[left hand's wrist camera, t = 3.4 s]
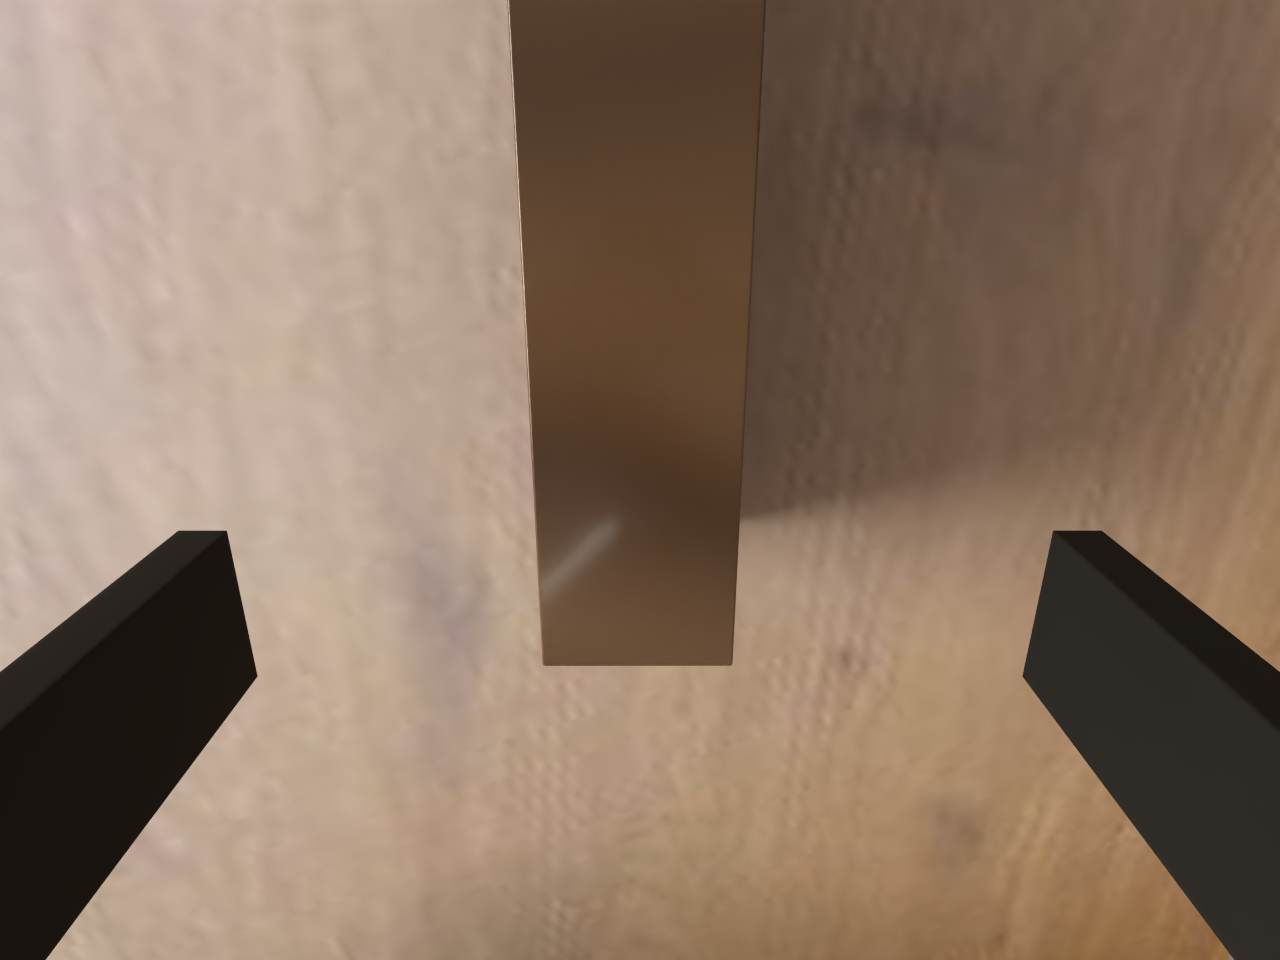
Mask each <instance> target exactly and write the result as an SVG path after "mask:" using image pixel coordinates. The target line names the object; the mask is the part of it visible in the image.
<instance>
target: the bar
mask: <svg viewBox="0 0 1280 960" xmlns="http://www.w3.org/2000/svg"><path fill="white" fill-rule="evenodd" d="M507 2H508V21H509V40H510V58H511V77H512V96H513V115H514V133H515V152H516V171H517V190H518V209H519V227H520V246H521V265H522V284H523V302H524V321H525V340H526V359H527V378H528V396H529V415H530V434H531V453H532V471H533V490H534V509H535V528H536V547H537V565H538V584H539V603H540V622H541V640H542V659H543V665H545V666H730V665H732V662H733V642H734V622H735V602H736V582H737V563H738V543H739V523H740V503H741V484H742V464H743V444H744V424H745V404H746V385H747V365H748V345H749V325H750V306H751V286H752V266H753V246H754V226H755V207H756V187H757V167H758V147H759V128H760V108H761V88H762V68H763V48H764V29H765V9H766V0H507Z"/></svg>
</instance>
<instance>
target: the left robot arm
mask: <svg viewBox="0 0 1280 960" xmlns="http://www.w3.org/2000/svg"><path fill="white" fill-rule="evenodd" d="M256 678H257V672H256V667H255V662H254V658H253V653H252V648H251V643H250V639H249V634H248V629H247V625H246V620H245V615H244V610H243V606H242V601H241V596H240V591H239V587H238V582H237V577H236V572H235V568H234V563H233V558H232V553H231V549H230V544H229V539H228V534H227V531H178V532H176V533H175V534H174V535H173V536H171V537H170V538H169V539H167V540H166V541H165V542H164V543H162V544H161V545H160V546H159V547H157V548H156V549H155V550H154V551H152V552H151V553H150V554H149V555H147V556H146V557H145V558H143V559H142V560H141V561H140V562H138V563H137V564H136V565H135V566H133V567H132V568H131V569H130V570H128V571H127V572H126V573H125V574H123V575H122V576H121V577H120V578H118V579H117V580H116V581H114V582H113V583H112V584H111V585H109V586H108V587H107V588H106V589H104V590H103V591H102V592H101V593H99V594H98V595H97V596H96V597H94V598H93V599H92V600H91V601H89V602H88V603H87V604H85V605H84V606H83V607H82V608H80V609H79V610H78V611H77V612H75V613H74V614H73V615H72V616H70V617H69V618H68V619H67V620H65V621H64V622H63V623H62V624H60V625H59V626H58V627H56V628H55V629H54V630H53V631H51V632H50V633H49V634H48V635H46V636H45V637H44V638H43V639H41V640H40V641H39V642H38V643H36V644H35V645H34V646H32V647H31V648H30V649H29V650H27V651H26V652H25V653H24V654H22V655H21V656H20V657H19V658H17V659H16V660H15V661H14V662H12V663H11V664H10V665H9V666H7V667H6V668H5V669H3V670H2V671H1V672H0V960H46V958H47V957H48V956H49V954H50V953H51V952H52V950H53V949H54V948H55V946H56V945H57V944H58V942H59V941H60V940H61V938H62V937H63V936H64V934H65V933H66V932H67V930H68V929H69V928H70V926H71V925H72V924H73V922H74V921H75V920H76V918H77V917H78V916H79V914H80V913H81V912H82V910H83V909H84V908H85V906H86V905H87V904H88V902H89V901H90V900H91V898H92V897H93V896H94V894H95V893H96V892H97V890H98V889H99V888H100V886H101V885H102V884H103V882H104V881H105V880H106V878H107V877H108V876H109V874H110V873H111V872H112V870H113V869H114V868H115V866H116V865H117V864H118V862H119V861H120V860H121V858H122V857H123V856H124V854H125V853H126V852H127V850H128V849H129V848H130V846H131V845H132V843H133V842H134V841H135V839H136V838H137V837H138V835H139V834H140V833H141V831H142V830H143V829H144V827H145V826H146V825H147V823H148V822H149V821H150V819H151V818H152V817H153V815H154V814H155V813H156V811H157V810H158V809H159V807H160V806H161V805H162V803H163V802H164V801H165V799H166V798H167V797H168V795H169V794H170V793H171V791H172V790H173V789H174V787H175V786H176V785H177V783H178V782H179V781H180V779H181V778H182V777H183V775H184V774H185V773H186V771H187V770H188V769H189V767H190V766H191V765H192V763H193V762H194V761H195V759H196V758H197V757H198V755H199V754H200V753H201V751H202V750H203V749H204V747H205V746H206V745H207V743H208V742H209V741H210V739H211V738H212V737H213V735H214V734H215V733H216V731H217V730H218V728H219V727H220V726H221V724H222V723H223V722H224V720H225V719H226V718H227V716H228V715H229V714H230V712H231V711H232V710H233V708H234V707H235V706H236V704H237V703H238V702H239V700H240V699H241V698H242V696H243V695H244V694H245V692H246V691H247V690H248V688H249V687H250V686H251V684H252V683H253V682H254V680H255V679H256ZM1023 678H1024V679H1025V680H1026V682H1027V683H1028V684H1029V686H1030V687H1031V688H1032V690H1033V691H1034V692H1035V694H1036V695H1037V696H1038V698H1039V699H1040V700H1041V702H1042V703H1043V704H1044V706H1045V707H1046V708H1047V710H1048V711H1049V712H1050V714H1051V715H1052V716H1053V718H1054V719H1055V720H1056V722H1057V723H1058V724H1059V726H1060V727H1061V728H1062V730H1063V731H1064V733H1065V734H1066V735H1067V737H1068V738H1069V739H1070V741H1071V742H1072V743H1073V745H1074V746H1075V747H1076V749H1077V750H1078V751H1079V753H1080V754H1081V755H1082V757H1083V758H1084V759H1085V761H1086V762H1087V763H1088V765H1089V766H1090V767H1091V769H1092V770H1093V771H1094V773H1095V774H1096V775H1097V777H1098V778H1099V779H1100V781H1101V782H1102V783H1103V785H1104V786H1105V787H1106V789H1107V790H1108V791H1109V793H1110V794H1111V795H1112V797H1113V798H1114V799H1115V801H1116V802H1117V803H1118V805H1119V806H1120V807H1121V809H1122V810H1123V811H1124V813H1125V814H1126V815H1127V817H1128V818H1129V819H1130V821H1131V822H1132V823H1133V825H1134V826H1135V827H1136V829H1137V830H1138V831H1139V833H1140V834H1141V835H1142V837H1143V838H1144V839H1145V841H1146V842H1147V843H1148V845H1149V846H1150V848H1151V849H1152V850H1153V852H1154V853H1155V854H1156V856H1157V857H1158V858H1159V860H1160V861H1161V862H1162V864H1163V865H1164V866H1165V868H1166V869H1167V870H1168V872H1169V873H1170V874H1171V876H1172V877H1173V878H1174V880H1175V881H1176V882H1177V884H1178V885H1179V886H1180V888H1181V889H1182V890H1183V892H1184V893H1185V894H1186V896H1187V897H1188V898H1189V900H1190V901H1191V902H1192V904H1193V905H1194V906H1195V908H1196V909H1197V910H1198V912H1199V913H1200V914H1201V916H1202V917H1203V918H1204V920H1205V921H1206V922H1207V924H1208V925H1209V926H1210V928H1211V929H1212V930H1213V932H1214V933H1215V934H1216V936H1217V937H1218V938H1219V940H1220V941H1221V942H1222V944H1223V945H1224V946H1225V948H1226V949H1227V950H1228V952H1229V953H1230V954H1231V956H1232V957H1233V958H1234V960H1280V672H1279V671H1278V670H1277V669H1275V668H1274V667H1273V666H1271V665H1270V664H1269V663H1268V662H1266V661H1265V660H1264V659H1263V658H1261V657H1260V656H1259V655H1258V654H1256V653H1255V652H1254V651H1253V650H1251V649H1250V648H1249V647H1248V646H1246V645H1245V644H1244V643H1242V642H1241V641H1240V640H1239V639H1237V638H1236V637H1235V636H1234V635H1232V634H1231V633H1230V632H1229V631H1227V630H1226V629H1225V628H1224V627H1222V626H1221V625H1220V624H1218V623H1217V622H1216V621H1215V620H1213V619H1212V618H1211V617H1210V616H1208V615H1207V614H1206V613H1205V612H1203V611H1202V610H1201V609H1200V608H1198V607H1197V606H1196V605H1195V604H1193V603H1192V602H1191V601H1189V600H1188V599H1187V598H1186V597H1184V596H1183V595H1182V594H1181V593H1179V592H1178V591H1177V590H1176V589H1174V588H1173V587H1172V586H1171V585H1169V584H1168V583H1167V582H1166V581H1164V580H1163V579H1162V578H1160V577H1159V576H1158V575H1157V574H1155V573H1154V572H1153V571H1152V570H1150V569H1149V568H1148V567H1147V566H1145V565H1144V564H1143V563H1142V562H1140V561H1139V560H1138V559H1136V558H1135V557H1134V556H1133V555H1131V554H1130V553H1129V552H1128V551H1126V550H1125V549H1124V548H1123V547H1121V546H1120V545H1119V544H1118V543H1116V542H1115V541H1114V540H1113V539H1111V538H1110V537H1109V536H1107V535H1106V534H1105V533H1104V532H1102V531H1053V534H1052V539H1051V544H1050V549H1049V553H1048V558H1047V563H1046V568H1045V572H1044V577H1043V582H1042V587H1041V591H1040V596H1039V601H1038V606H1037V610H1036V615H1035V620H1034V625H1033V629H1032V634H1031V639H1030V643H1029V648H1028V653H1027V658H1026V662H1025V667H1024V672H1023Z"/></svg>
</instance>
